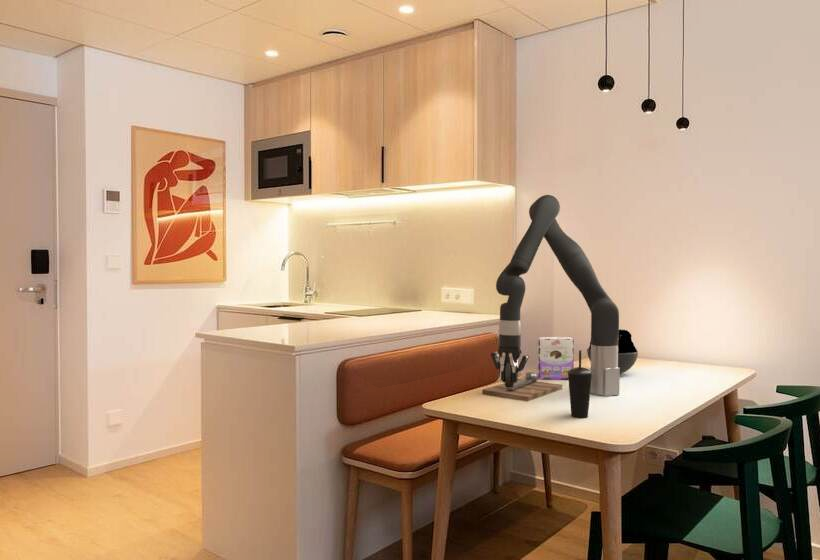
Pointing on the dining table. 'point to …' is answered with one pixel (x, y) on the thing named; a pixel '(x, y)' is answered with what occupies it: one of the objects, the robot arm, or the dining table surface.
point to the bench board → (523, 390)
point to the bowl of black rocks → (623, 351)
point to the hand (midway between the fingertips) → (509, 382)
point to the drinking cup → (579, 390)
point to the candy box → (554, 357)
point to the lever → (511, 386)
